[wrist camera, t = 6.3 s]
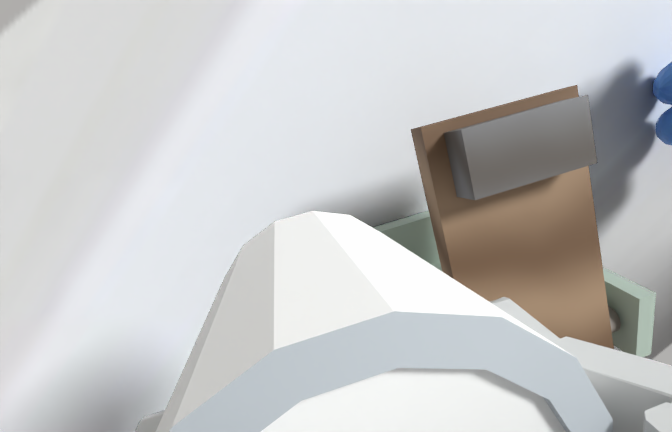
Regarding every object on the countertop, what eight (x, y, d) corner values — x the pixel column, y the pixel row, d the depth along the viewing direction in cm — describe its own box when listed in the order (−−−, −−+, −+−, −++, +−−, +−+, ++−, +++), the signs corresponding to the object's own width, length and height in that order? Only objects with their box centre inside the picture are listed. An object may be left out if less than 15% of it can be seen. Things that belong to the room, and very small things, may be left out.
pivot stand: (548, 174, 27) (691, 213, 19) (552, 312, 32) (670, 397, 23) (335, 238, 25) (384, 317, 17) (369, 377, 30) (423, 499, 21)
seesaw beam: (385, 136, 19) (413, 130, 15) (563, 87, 20) (626, 72, 17) (483, 554, 24) (522, 623, 20) (622, 493, 25) (681, 547, 21)
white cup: (377, 412, 13) (499, 719, 6) (169, 376, 11) (43, 752, 5) (458, 228, 12) (710, 377, 5) (238, 154, 10) (201, 239, 3)
